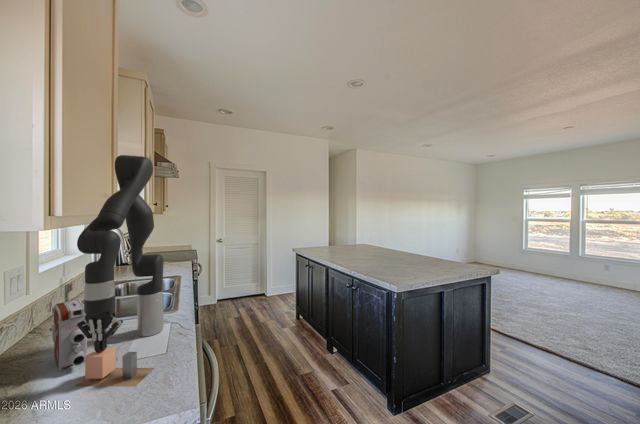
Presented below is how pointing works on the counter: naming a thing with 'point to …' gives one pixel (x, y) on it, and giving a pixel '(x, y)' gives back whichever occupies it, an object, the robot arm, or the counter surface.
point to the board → (117, 378)
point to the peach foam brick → (100, 364)
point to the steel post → (129, 365)
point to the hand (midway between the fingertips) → (100, 351)
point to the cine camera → (68, 334)
